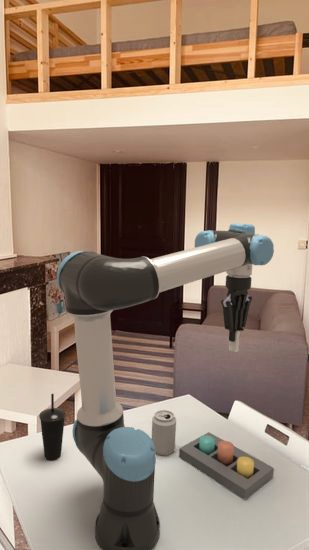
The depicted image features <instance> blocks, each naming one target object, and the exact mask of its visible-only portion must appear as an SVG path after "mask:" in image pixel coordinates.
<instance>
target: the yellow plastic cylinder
mask: <svg viewBox="0 0 309 550" xmlns="http://www.w3.org/2000/svg"><path fill="white" fill-rule="evenodd" d="M253 470H254V461H253V460H252V459H251V458H249V457H245V456H242V457H239V458H238V459H237V472H236V473H238V474H240V475H241V476H243V477H245V478H246V479H249V478H250V477H252V476H253Z"/></svg>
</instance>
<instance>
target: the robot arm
mask: <svg viewBox="0 0 309 550" xmlns="http://www.w3.org/2000/svg"><path fill="white" fill-rule="evenodd" d="M228 226H229V227H228V228H229V229H228V230H210V229H209V230H203V231H200V232H198V233H197V235H196V236H195V238H194V247H192V248H188V249H185V250H181V251H177V252H172V253H169V254H165V255H162V256H161V255H160V256H157V257H154V258H149V257H147V256H144V255H143V256H140V257H135V258H120V257H119V258H117V257H114V256H109V255H105V254H101V253H98V252H96V251H91V250H87V251H86V250H78V251H74V252H72V253H70V254H68V255H67V256H65V258H63V260H62V261H61V262H60V264H59V265H58V268H57V272H56V281H57V285H58V287H59V289H60V291H61V292H62V293H63V294H64V299H65V310H66V313H67V314H68V315H69V316H71V317H72V318H73V326H74V334H75V345H76V355H77V365H78V366H77V367H78V377H79V386H80V388H79V389H80V397H81V398H80V400H81V407H80V408H79V409H78V410H77V412H76V419H75V420H74V423H73V425H72V439H73V441H74V444H75V446H76V447H77V449H78V450H79V452H80V453H81V454H82V455H83V456H84V457H85V459H87V461H88V462H89V464H90V465H91V466H92V468H93V469H94V470H95V471H96V472H97V474H98V475H99V476H100V478H101V479H102V483H103V484H102V485H103V486H102V487H103V488H102V491H103V492H102V496H103V497H102V503H101V506H100V510H99V513H98V514H97V516H96V520H95V524H94V538H95V540H96V543H97V545H98V547H99V548H100V549H101V550H153V549H154V547H155V546H156V545H157V543H158V541H159V539H160V529H161V522H160V521H161V520H160V518H159V514H158V511H157V508H156V505H155V502H154V496H155V495H154V494H155V493H154V491H155V475H156V474H155V473H156V469H155V468H156V463H157V456H156V453H155V446H154V443H153V441H152V437H151V436H150V435H149V434H148V433H146V432H145V431H144V430H141V429H140V428H137V429H135V427H132V426H125V420H124V419H125V418H124V409H123V408H124V407H123V406H122V405H121V403H119V402H117V395H116V391H117V390H116V380H115V377H116V376H115V365H114V354H113V353H114V351H113V337H112V323H111V322H112V321H111V313H112V312H113V311H116V310H122V309H125V308H130V307H133V306H137V305H140V304H144V303H146V302H147V303H148V302H149V301H152V300H155V299H157V298H158V297H159V294H160V293H162V292H165V291H168V290H172V289H175V288H177V287H181V286H184V285H187V284H190V283H194V282H197V281H200V280H203V279H206V278H210V277H212V276H215V275H219V274H222V273H226V274H227V275H226V276H225V288H226V289H227V293H226V298H225V299H221V300H220V304H221V306H222V313H223V314H222V315H223V324H224V330H228V331H229V333H228V351H230V352H234V353H237V352H239V351H240V349H239V348H240V339H241V331H242V332H244V330H245V329H244V328H245V327H246V325H247V320H248V316H249V310H250V305H251V302H252V300H253V296H252V295H249V292H248V291H249V290H250V289H251V288H252V279H253V278H252V277H251V276H252V274H253V273H252V272H253V266H265V265H268V264H269V262H270V261H271V260H272V259H273V257H274V252H275V250H274V249H275V248H274V246H275V245H274V243H273V241H272V239H271V237H269V236H267V235H263V234H260V233H256V228H255V227H256V226H255V225H254V224H252V223H251V224H250V223H238V222H237V223H230V224H229V225H228Z"/></svg>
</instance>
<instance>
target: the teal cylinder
mask: <svg viewBox="0 0 309 550" xmlns="http://www.w3.org/2000/svg"><path fill="white" fill-rule="evenodd" d="M203 435H204V434H203ZM203 435H201V436H199V437H200V443H199V450H200V451H202V452H203V453H205V454H207V455H210V454H211V453H213V452H214V446H215V439H214V438H213V437H211V436H208V435H204V436H203Z"/></svg>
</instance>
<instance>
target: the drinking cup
mask: <svg viewBox="0 0 309 550" xmlns="http://www.w3.org/2000/svg"><path fill="white" fill-rule="evenodd" d="M54 395H55V393H51V394H50V397H51V400H50V401H51V405H50V406H51V407H49V408H46V409H44V410H42V411H41V412H40V413H39V415H38V416H39V417H38V418H39V420H40V429H41V435H42V436H41V437H42V445H43V454H44V459H45V460H46V461H54V462H55V461H56V460H59V459H60V458H61V457H62V450H63V449H62V448H63V447H62V446H63V438H64V437H63V436H64V427H65V419H66V415H67V414H66V410H64V408H61V407H60V408H59V407H55V401H54V400H55V399H54V398H55V397H54Z"/></svg>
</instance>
